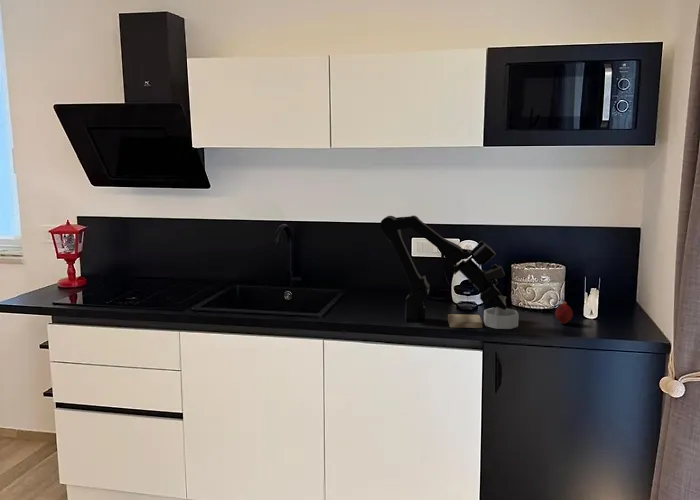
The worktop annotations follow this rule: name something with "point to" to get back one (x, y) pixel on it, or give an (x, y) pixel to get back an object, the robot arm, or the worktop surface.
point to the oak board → (464, 321)
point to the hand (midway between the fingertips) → (505, 306)
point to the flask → (500, 311)
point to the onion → (564, 313)
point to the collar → (501, 319)
